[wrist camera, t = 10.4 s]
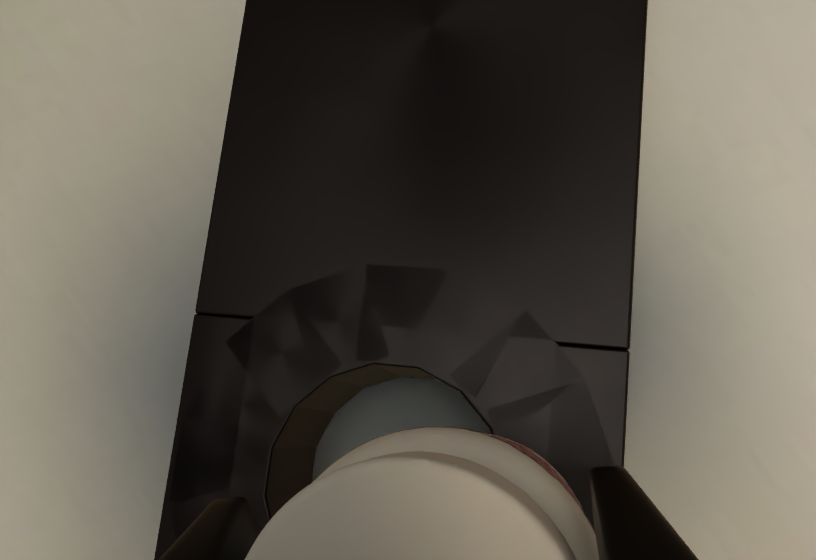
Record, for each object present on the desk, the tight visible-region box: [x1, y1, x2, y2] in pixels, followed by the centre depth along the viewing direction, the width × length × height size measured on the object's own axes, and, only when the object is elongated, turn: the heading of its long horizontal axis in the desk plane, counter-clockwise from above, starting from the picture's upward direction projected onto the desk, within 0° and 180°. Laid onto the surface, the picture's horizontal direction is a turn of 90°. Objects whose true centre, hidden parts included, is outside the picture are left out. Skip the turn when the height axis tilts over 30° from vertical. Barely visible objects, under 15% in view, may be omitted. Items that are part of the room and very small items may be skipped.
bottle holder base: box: [154, 0, 648, 560], centre depth 23 cm, size 28×12×4 cm, turn 174°
